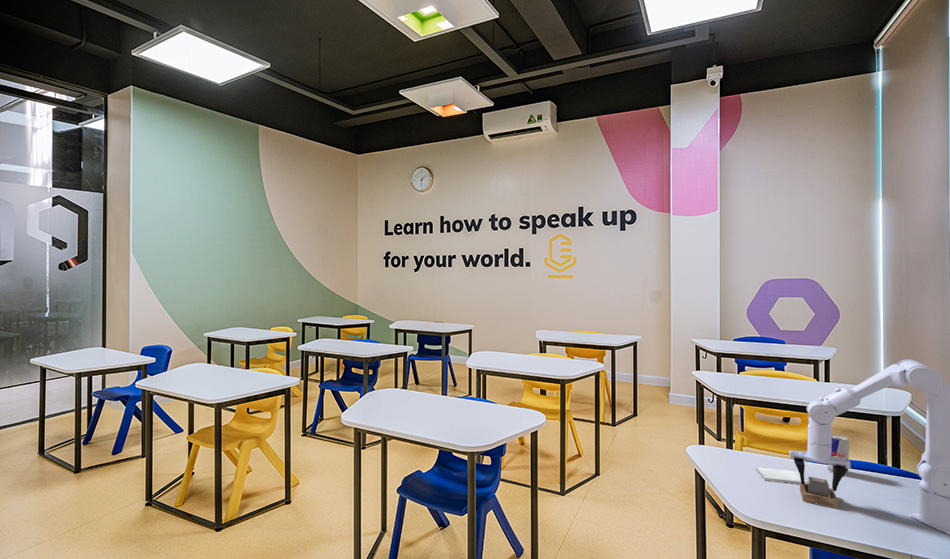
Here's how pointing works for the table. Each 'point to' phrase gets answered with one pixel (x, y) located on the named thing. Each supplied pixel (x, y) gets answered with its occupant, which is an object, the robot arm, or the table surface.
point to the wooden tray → (818, 497)
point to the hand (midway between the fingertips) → (818, 486)
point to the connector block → (818, 486)
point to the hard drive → (779, 475)
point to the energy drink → (839, 449)
